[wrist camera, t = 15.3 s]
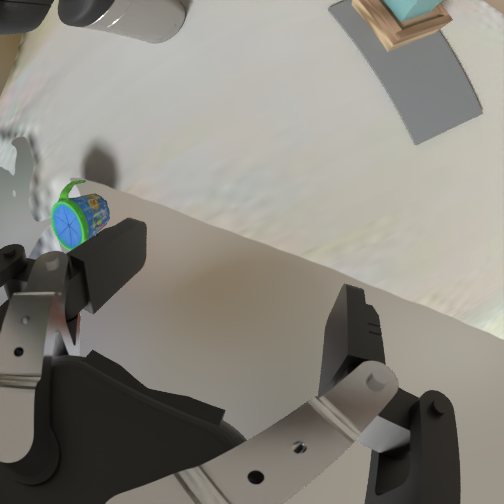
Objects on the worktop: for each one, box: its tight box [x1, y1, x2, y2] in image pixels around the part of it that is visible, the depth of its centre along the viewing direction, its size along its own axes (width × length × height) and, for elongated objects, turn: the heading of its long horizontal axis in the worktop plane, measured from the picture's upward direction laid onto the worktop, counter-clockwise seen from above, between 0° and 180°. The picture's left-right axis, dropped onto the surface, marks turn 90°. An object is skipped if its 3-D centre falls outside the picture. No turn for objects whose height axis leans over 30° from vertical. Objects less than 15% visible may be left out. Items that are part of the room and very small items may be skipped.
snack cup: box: [51, 180, 110, 251], centre depth 50 cm, size 16×10×10 cm
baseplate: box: [328, 0, 483, 145], centre depth 28 cm, size 24×14×1 cm, turn 34°
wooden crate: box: [352, 0, 453, 51], centre depth 22 cm, size 9×9×8 cm
